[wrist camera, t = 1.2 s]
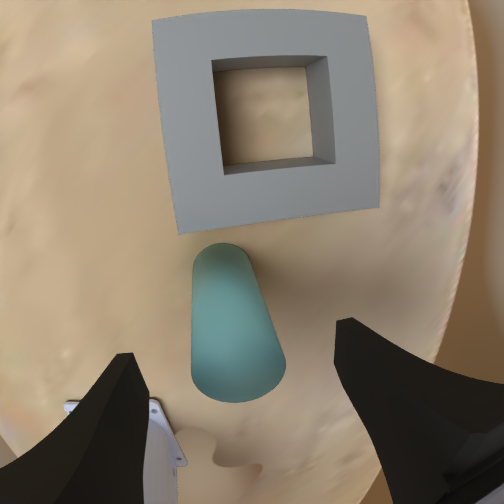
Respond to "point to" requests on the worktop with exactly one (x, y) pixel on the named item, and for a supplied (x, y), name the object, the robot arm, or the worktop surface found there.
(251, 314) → the peg
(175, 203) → the socket block
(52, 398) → the worktop surface
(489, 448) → the robot arm
